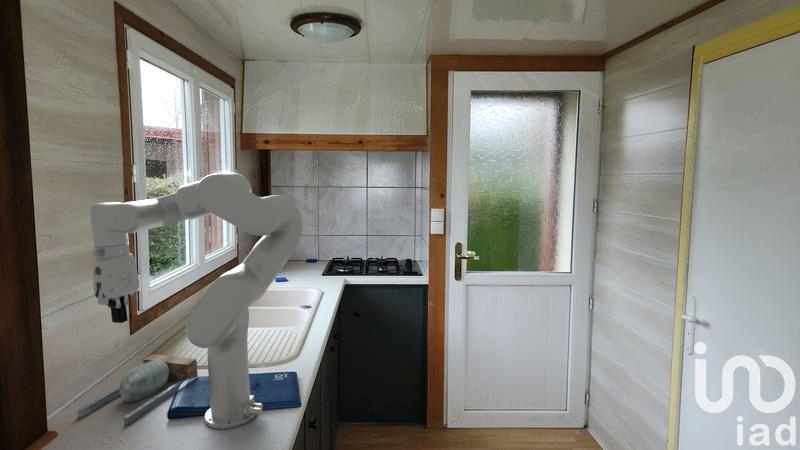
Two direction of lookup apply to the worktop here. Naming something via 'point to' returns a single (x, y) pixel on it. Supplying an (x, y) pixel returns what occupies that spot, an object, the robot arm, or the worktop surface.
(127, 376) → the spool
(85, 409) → the guide rails
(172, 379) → the end stop
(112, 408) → the worktop surface
